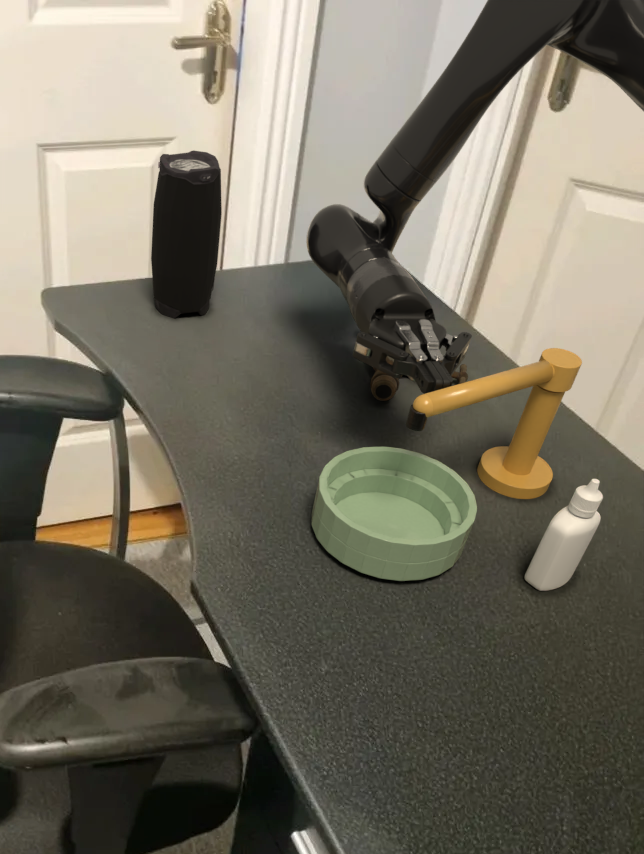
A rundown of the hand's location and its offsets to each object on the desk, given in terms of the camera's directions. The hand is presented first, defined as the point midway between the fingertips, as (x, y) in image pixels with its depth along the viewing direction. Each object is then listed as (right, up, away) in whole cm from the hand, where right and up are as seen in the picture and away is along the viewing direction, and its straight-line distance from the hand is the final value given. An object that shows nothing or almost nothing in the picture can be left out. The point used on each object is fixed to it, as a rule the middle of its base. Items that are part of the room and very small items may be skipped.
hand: (441, 391), depth 82 cm
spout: (+6, 0, +3) cm, 7 cm away
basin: (-4, -13, +6) cm, 15 cm away
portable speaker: (-26, +21, +39) cm, 51 cm away
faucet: (+4, +9, +29) cm, 31 cm away
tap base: (+12, -6, +15) cm, 20 cm away
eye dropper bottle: (+12, -18, +3) cm, 22 cm away
